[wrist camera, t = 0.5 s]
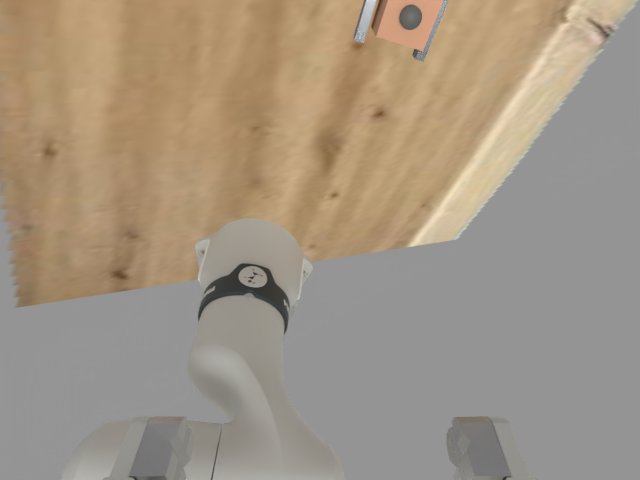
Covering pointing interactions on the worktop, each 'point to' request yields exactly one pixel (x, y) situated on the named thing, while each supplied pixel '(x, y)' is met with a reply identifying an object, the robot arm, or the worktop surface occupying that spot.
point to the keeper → (406, 21)
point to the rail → (366, 17)
